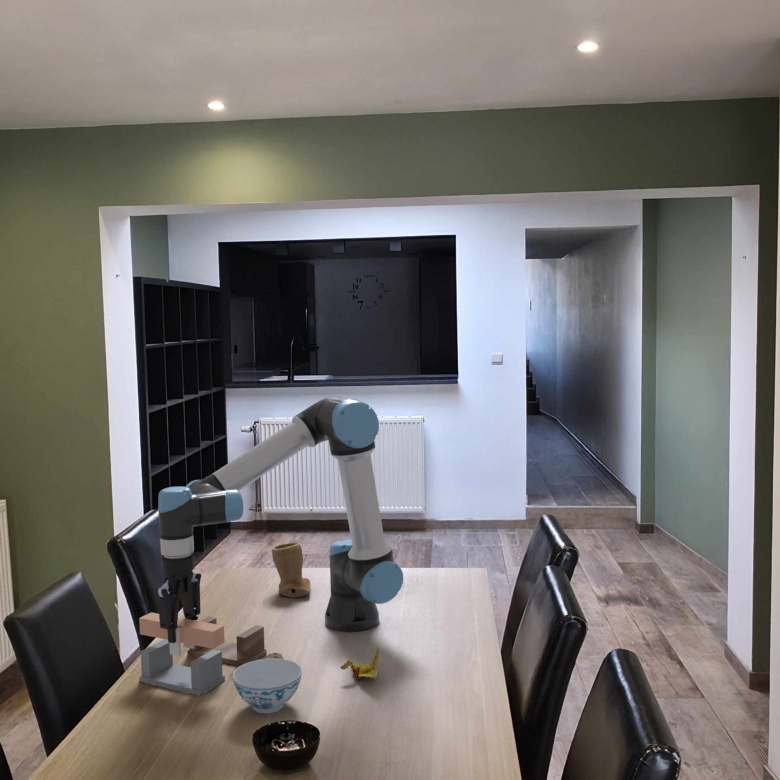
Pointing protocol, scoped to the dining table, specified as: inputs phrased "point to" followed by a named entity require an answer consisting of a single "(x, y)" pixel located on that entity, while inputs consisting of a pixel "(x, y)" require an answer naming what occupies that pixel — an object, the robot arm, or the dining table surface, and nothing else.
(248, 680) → the chinaware
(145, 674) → the stand
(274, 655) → the mineral rock
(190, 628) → the salmon pink square bar
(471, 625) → the dining table surface
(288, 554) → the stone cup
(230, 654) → the bronze cradle base
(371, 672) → the origami crane
